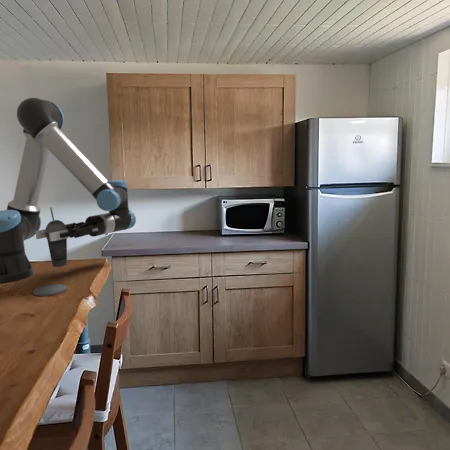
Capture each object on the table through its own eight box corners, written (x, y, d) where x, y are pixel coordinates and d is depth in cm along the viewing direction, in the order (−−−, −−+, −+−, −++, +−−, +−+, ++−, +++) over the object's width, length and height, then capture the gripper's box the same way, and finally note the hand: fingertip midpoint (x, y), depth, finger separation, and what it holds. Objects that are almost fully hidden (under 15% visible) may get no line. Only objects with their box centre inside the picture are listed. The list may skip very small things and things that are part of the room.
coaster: (26, 293, 144) (26, 291, 144) (54, 284, 152) (54, 282, 152) (45, 298, 138) (44, 296, 138) (73, 288, 146) (72, 287, 146)
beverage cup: (63, 268, 151) (57, 208, 148) (43, 267, 153) (37, 208, 149) (74, 262, 158) (69, 205, 155) (56, 262, 160) (50, 205, 156)
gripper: (118, 237, 163) (62, 250, 144) (83, 232, 174) (27, 244, 156) (116, 216, 161) (60, 227, 143) (81, 213, 173) (25, 222, 155)
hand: (43, 236), depth 149 cm, fingers closed on beverage cup, 7 cm apart
